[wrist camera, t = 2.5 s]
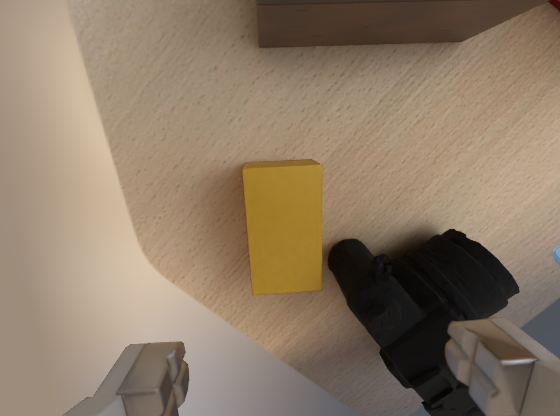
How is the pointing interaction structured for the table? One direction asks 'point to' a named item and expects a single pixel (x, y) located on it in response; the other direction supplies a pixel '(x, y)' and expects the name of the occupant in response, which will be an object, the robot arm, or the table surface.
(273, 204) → the yellow box
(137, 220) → the table surface
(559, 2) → the book
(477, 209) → the table surface
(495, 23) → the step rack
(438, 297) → the film camera
